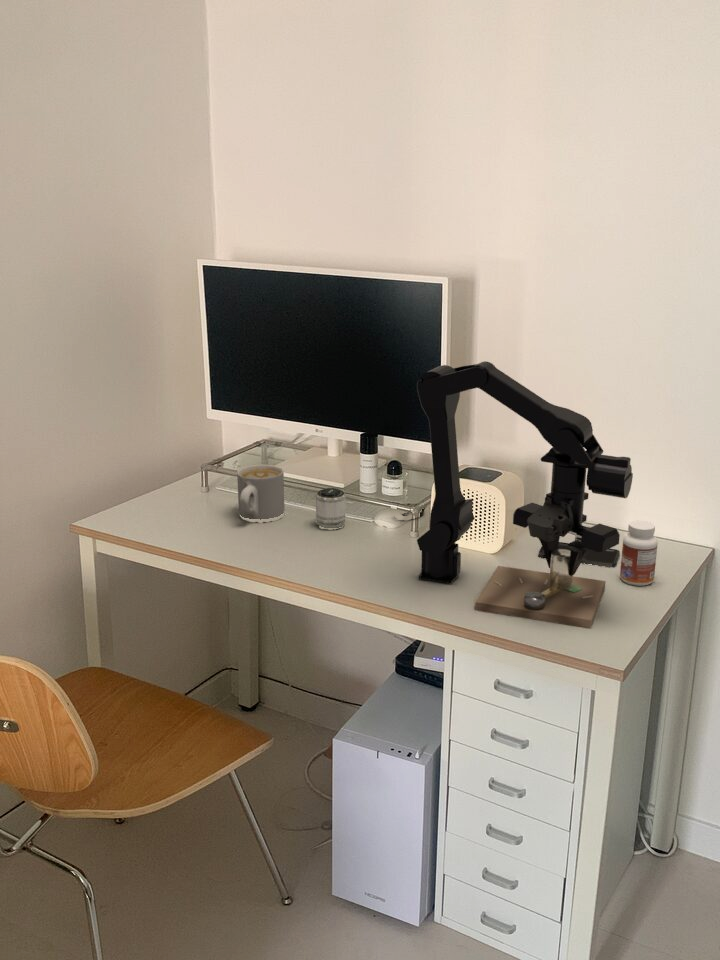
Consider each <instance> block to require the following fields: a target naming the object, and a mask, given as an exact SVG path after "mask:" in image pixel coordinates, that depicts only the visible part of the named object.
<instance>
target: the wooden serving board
mask: <svg viewBox="0 0 720 960" xmlns="http://www.w3.org/2000/svg"><path fill="white" fill-rule="evenodd" d="M549 579H550V572H544V571H538V570H531V569H523V568H516V567H510V566H502V565H498V566H496V568H495V570H494V572H493V573H492V575H491V576H490V578H489V580H488V581H487V583H486V584H485V586H484V587H483V589H482V591H481V592H480V594H479V595H478V597H477V598H476V600H475V601H474V611H478V612H485V613H492V614H499V615H504V616H510V617H517V618H523V619H529V620H530V619H531V620H536V621H542V622H550V623H555V624H561V625H568V626H573V627H574V626H575V627H580V628H586V629H591V628H592V625H593V623H594V619H595V617H596V614H597V612H598V609H599V606H600V604H599V603H601V600H602V598H603V595H604V593H603V592H605V590H604V589H606V580H600V579H594V578H587V577H586V578H585V577H580V576H574V575H573V582H572V587H571V588H569V589H562V590H560V591H558V592H557V593H555V594H553V595H551V596H549V597H548V598H546V599H545V607H544V608H541V609H530V608H527V607H526V606H525V605H524V595H525V594H526V593H528V592H539V593H542V592H544V591H545V590H547V589H549V588H551V586H550V585H549Z"/></svg>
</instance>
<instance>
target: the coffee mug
mask: <svg viewBox="0 0 720 960" xmlns="http://www.w3.org/2000/svg"><path fill="white" fill-rule="evenodd" d="M284 474H285V473H284V470H283V468H281V467H279V466H275V465H270V464H254V465H253V464H252V465H248V466H245V467H242V468H240V469H238V470H237V473H236V475H237V498H238V502H237V503H238V516H239V515H241V516H242V517H244V518H249V519H260V520H261V519H269V518H274V517H278V516H280V515H281V514H283V513H284V511H285V486H284V485H285V483H284V482H285V478H284Z"/></svg>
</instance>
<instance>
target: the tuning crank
mask: <svg viewBox="0 0 720 960" xmlns="http://www.w3.org/2000/svg"><path fill="white" fill-rule="evenodd" d="M570 553H571V551H569V550H565V549H556V550H553V551H552V552H551V563H550V568H549V573H550V579H549V585H550V586H551V588H549V589H547V590H545V591H544V592H542V593H539V592H528V593H526V594H525V595H524V605H525V606H526V607H527V608H530V609H541V608H544V607H545V599H546V598H548V597H549V596H551V595H553V594H555V593H557V592H558V591H560V590H562V589H569V588H571V587H572V582H573V576H574V575H572V576H570V575H569V564H570Z"/></svg>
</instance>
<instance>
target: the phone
mask: <svg viewBox="0 0 720 960" xmlns="http://www.w3.org/2000/svg"><path fill="white" fill-rule="evenodd" d="M568 543H569V542H563V541H561V542H560V541H559V545H558V549H565V550H569V551H571V550H570V548H569V546H568ZM620 552H621V551H620V550H619V549H616V548H610V549H608V550H606V551H603V552H596V551H593V550H590V549H589V551H588V552H587V554H586V555H585V557H584V559H583V560H582V562H581V563H585V564H584V565H588V564H592V565H591V566H595V565H598V566H597V567H602V566H605V568H610V567H613V568H615V566H616V567H617V565H616V564H618V561H619V559H620V554H621V553H620ZM540 557H541V558H540ZM538 558H540V559H544V558H546V557H545V553H544V550H543V547H542V546H540V549H539V551H538Z"/></svg>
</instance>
